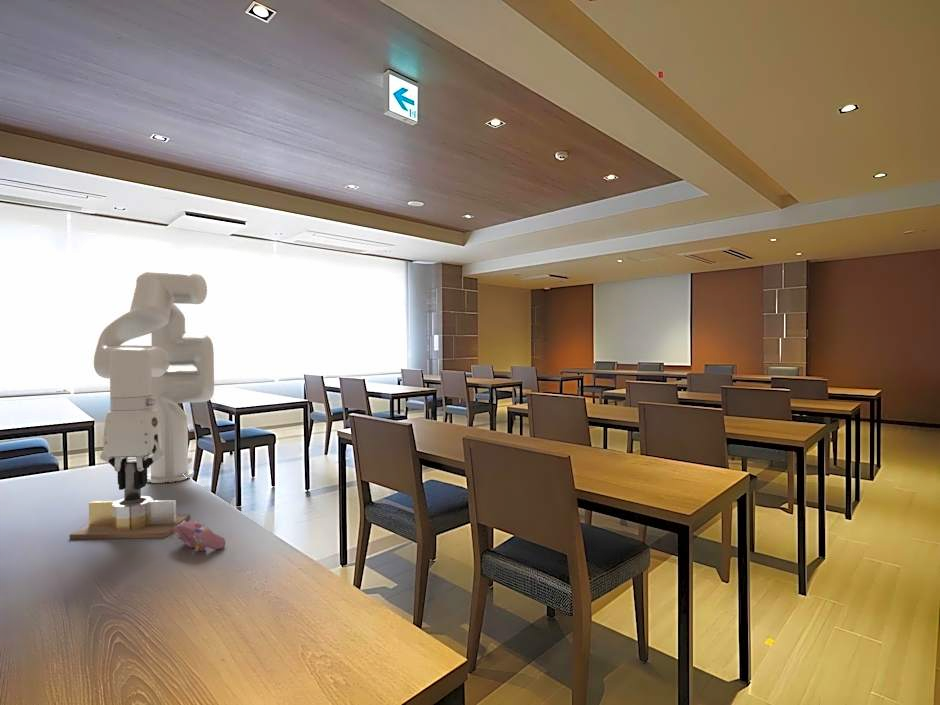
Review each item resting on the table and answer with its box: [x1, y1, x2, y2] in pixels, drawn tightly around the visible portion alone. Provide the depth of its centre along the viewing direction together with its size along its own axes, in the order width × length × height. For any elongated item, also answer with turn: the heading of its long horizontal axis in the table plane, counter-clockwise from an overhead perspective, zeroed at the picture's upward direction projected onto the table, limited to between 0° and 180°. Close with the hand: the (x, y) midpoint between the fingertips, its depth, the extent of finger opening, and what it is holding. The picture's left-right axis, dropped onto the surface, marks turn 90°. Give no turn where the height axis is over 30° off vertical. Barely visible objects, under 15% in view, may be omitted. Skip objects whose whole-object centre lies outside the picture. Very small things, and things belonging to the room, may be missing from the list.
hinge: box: [88, 495, 177, 530], centre depth 111 cm, size 7×18×5 cm, turn 94°
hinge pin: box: [123, 460, 142, 501], centre depth 111 cm, size 3×3×8 cm
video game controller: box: [172, 520, 226, 552], centre depth 101 cm, size 10×5×7 cm, turn 63°
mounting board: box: [69, 513, 191, 540], centre depth 111 cm, size 11×19×1 cm, turn 94°
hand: (132, 487), depth 111 cm, fingers closed on hinge pin, 2 cm apart
